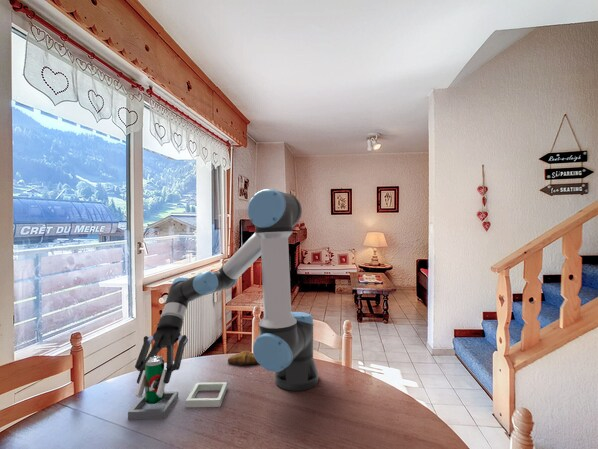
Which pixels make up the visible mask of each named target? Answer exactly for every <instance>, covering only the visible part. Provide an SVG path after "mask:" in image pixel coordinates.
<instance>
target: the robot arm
mask: <svg viewBox="0 0 598 449" xmlns="http://www.w3.org/2000/svg"><path fill="white" fill-rule="evenodd" d="M302 214H303V208H302V205H301V202H300V200H299V199H298V198H297V197H295V195H293V194H290V193H286V192H282V191H279V190H278V189H270V188H269V189H268V188H266V189H261V190H259V191H258V192H256V193H255V194H254V195H253V196H252V197H251V198H250V200H249V202H248V205H247V216H248V219H249V221H250V222H251V223H252V224H253V225H254V228H255V230H254V233H253V234H251V236H250V237H249V238H248V239H247V240H246V241H245V242H244V243H243V244H242V245H241V246H240V248H238V250H237V251H236V252H235V253H233V255H232V256H231V257H230V258H229V259H228V260H227V261H226V262H225V263H224V264H223V265H222V266H221V267H220V268H219V269H218V270H217V271H210V270H207V271H203V272H200V273H198V274H196V275H194V276H193V277H191V278H188V277H185V276H182V277H176V278H175V279H173V281H172V283H171V285H170V287H169V290H168V294H167V297H166V300H165V303H164V306H163V309H162V312H161V315H160V318H159V319H158V320H159V321H158V323H157V326H156V330H155V332H154V333H153V335H150V336H148V335H145V336H144V337H143V344H142V345H141V346H142V347H141V350H140V352H139V355H138V358H137V360H136V363H135V365H134V368H135V369H136V370H137V372H139V373H138V376H137V379H136V384H138V385H137V387H136V391H135V393H134V395H135V396H136V397H137V399H140V398H141V397H142V396H143V394H144V392H145V364H146V362H147V359H149V358H151V357H154V356H158V353H159V352H160V351H161V350H162V349H163V348H166V366H165V369H164V370H163V372H162V376H161V379H160V383H159V386H158V390H157V393H156V395H157V396H158V397H162V395H163V391H164V392H165V387H166V384H169V383H170V380H171V377H172V373H173V372H174V371H178V370H180V367H181V364H182V359H183V356H184V350H185V347H186V344H187V343H188V342H189V341H188V340H189V339H188V336H187V335H186V334H184V335H182V334H181V331H182V327H183V324H184V320H185V317H186V315H187V314H186V313H187V310H188V306H189V303H190V302H192V301H195V300H197V299H199V298H201V297H205V296H207V295H210V294H215V293H217V292H221V291H224V290H229V289H231V288H233V287H235V285H237V283H238V279H239V277H241V275H243V274H244V273H245V272H246V271H247V270H248V269H249V268H250V267H251V266H252V265H253V264H254V263H255V262H256V261H257V259H259V258H260V257H261V258H260V259H261V273H262V274H261V281H262V283H261V284H262V303H263V317H262V318H261V319H260V321H259V322H258V330H259V335H258V336H257V337H256V339H255V341H254V343H253V346H252V351H253V352H252V353H254V356H255V359H256V361H257V362H258V363H257V364H259V365H260V366H261V367H262V369H264V370H265V371H267V372H270V373H274V383H275V384H276V385H277V386H278V387H279V388H281V389H284V390H287V391H291V392H292V391H293V392H299V391H300V392H301V391H306V390H307V391H308V390H310V389H312V388H314V387H315V386H316V385H317V384H318V382H319V372H318V369H317V364H316V362H315V359H314V326H315V325H314V317H313V315H311V313H307V312H304V311H292V296H291V295H292V294H291V274H290V273H291V272H290V253H289V252H290V251H289V238H290V236H291V235H292V234H293V233H294V232H293V230H294V228H295V227H296V226H297V224H298V223H299V222H300V220H301V218H302ZM153 341H154V343H152V342H153ZM177 342H178V345H177V349H176V353H175V355H174V350H175V348H174V347H175V344H177ZM152 344H153V345H152ZM151 345H152V348H151V349H150V347H151ZM174 356H175V357H174Z"/></svg>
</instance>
